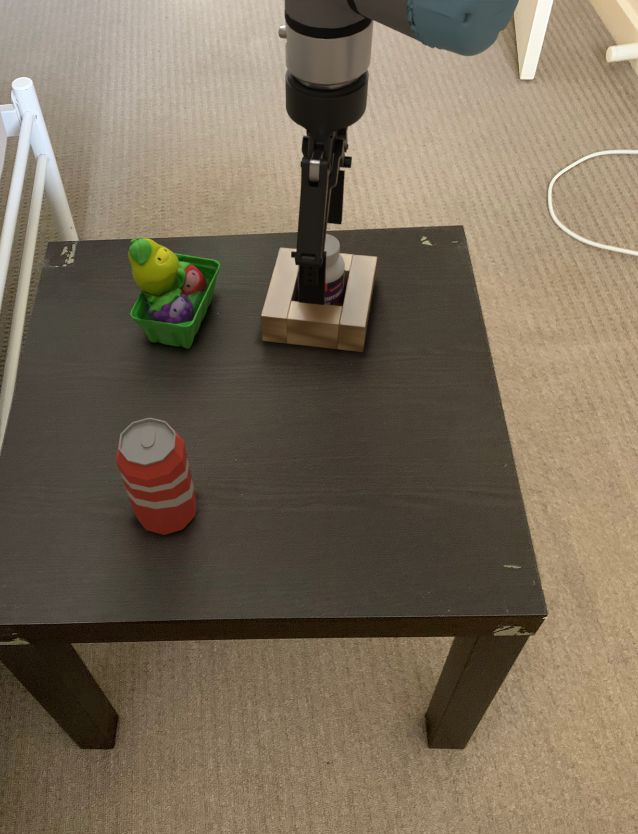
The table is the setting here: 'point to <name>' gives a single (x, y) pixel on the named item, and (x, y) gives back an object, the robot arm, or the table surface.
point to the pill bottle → (332, 272)
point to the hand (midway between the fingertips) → (321, 260)
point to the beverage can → (156, 475)
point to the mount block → (319, 307)
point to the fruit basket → (170, 292)
